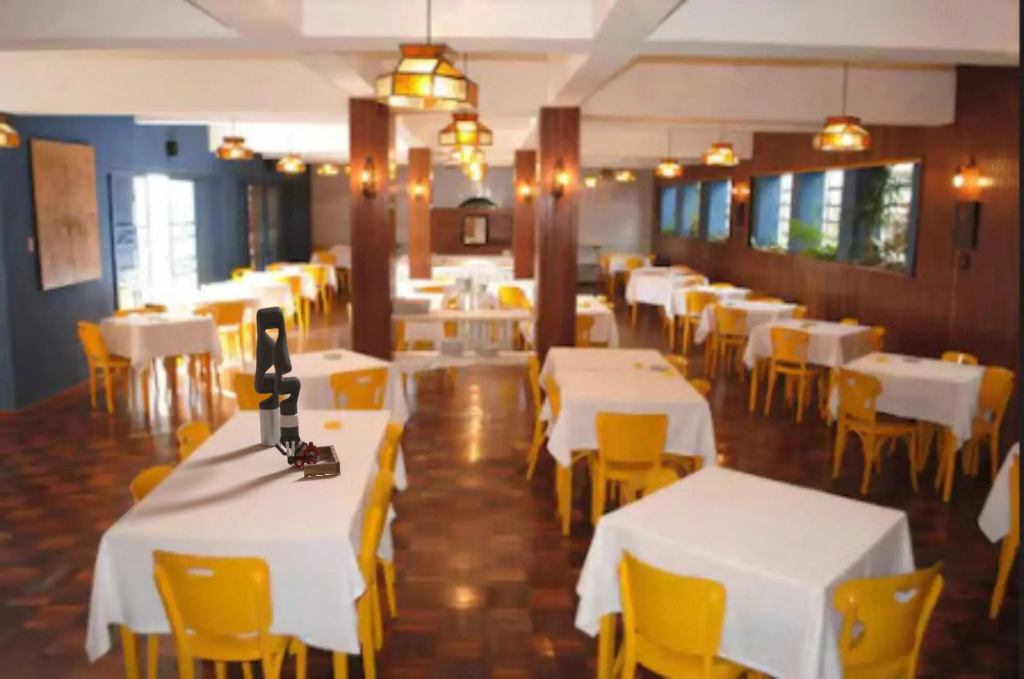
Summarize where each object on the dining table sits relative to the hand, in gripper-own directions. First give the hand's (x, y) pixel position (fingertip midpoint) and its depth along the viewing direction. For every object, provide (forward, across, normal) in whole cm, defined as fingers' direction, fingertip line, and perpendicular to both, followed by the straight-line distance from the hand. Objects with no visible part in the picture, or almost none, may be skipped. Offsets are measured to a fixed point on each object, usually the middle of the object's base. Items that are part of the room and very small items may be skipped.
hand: (291, 464), depth 381 cm
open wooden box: (+2, -12, 0) cm, 12 cm away
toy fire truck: (+2, -6, -3) cm, 7 cm away
